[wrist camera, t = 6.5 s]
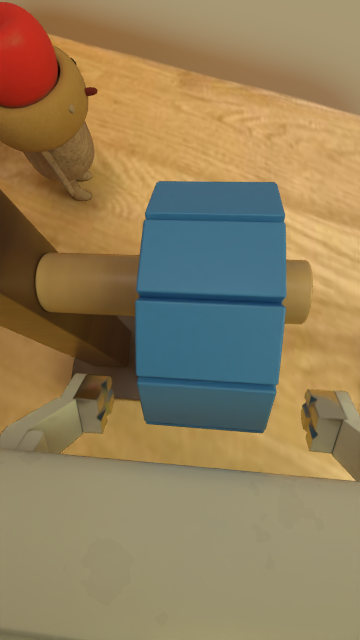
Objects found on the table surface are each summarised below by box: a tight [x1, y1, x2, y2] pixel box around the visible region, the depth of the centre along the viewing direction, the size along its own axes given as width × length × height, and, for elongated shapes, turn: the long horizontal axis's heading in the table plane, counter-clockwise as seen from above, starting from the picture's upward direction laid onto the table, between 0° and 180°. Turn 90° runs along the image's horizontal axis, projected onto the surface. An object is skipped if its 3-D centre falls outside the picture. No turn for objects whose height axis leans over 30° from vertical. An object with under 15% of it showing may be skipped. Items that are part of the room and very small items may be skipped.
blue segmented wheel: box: [135, 181, 287, 433], centre depth 15 cm, size 4×10×10 cm, turn 175°
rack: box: [0, 190, 313, 401], centre depth 19 cm, size 14×8×20 cm, turn 86°
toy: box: [0, 2, 97, 200], centre depth 27 cm, size 9×9×15 cm
